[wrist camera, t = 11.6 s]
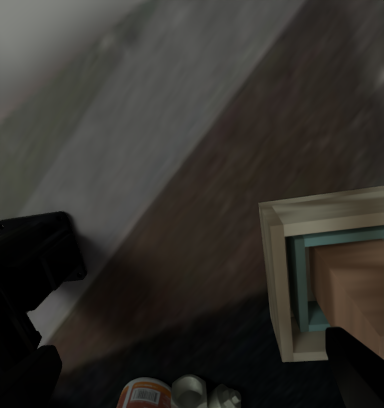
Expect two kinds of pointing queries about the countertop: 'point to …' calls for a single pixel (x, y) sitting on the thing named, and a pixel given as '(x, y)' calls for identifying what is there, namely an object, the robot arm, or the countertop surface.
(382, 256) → the peg
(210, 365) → the countertop surface
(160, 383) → the pill bottle
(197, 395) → the pipe fitting
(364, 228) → the socket box
